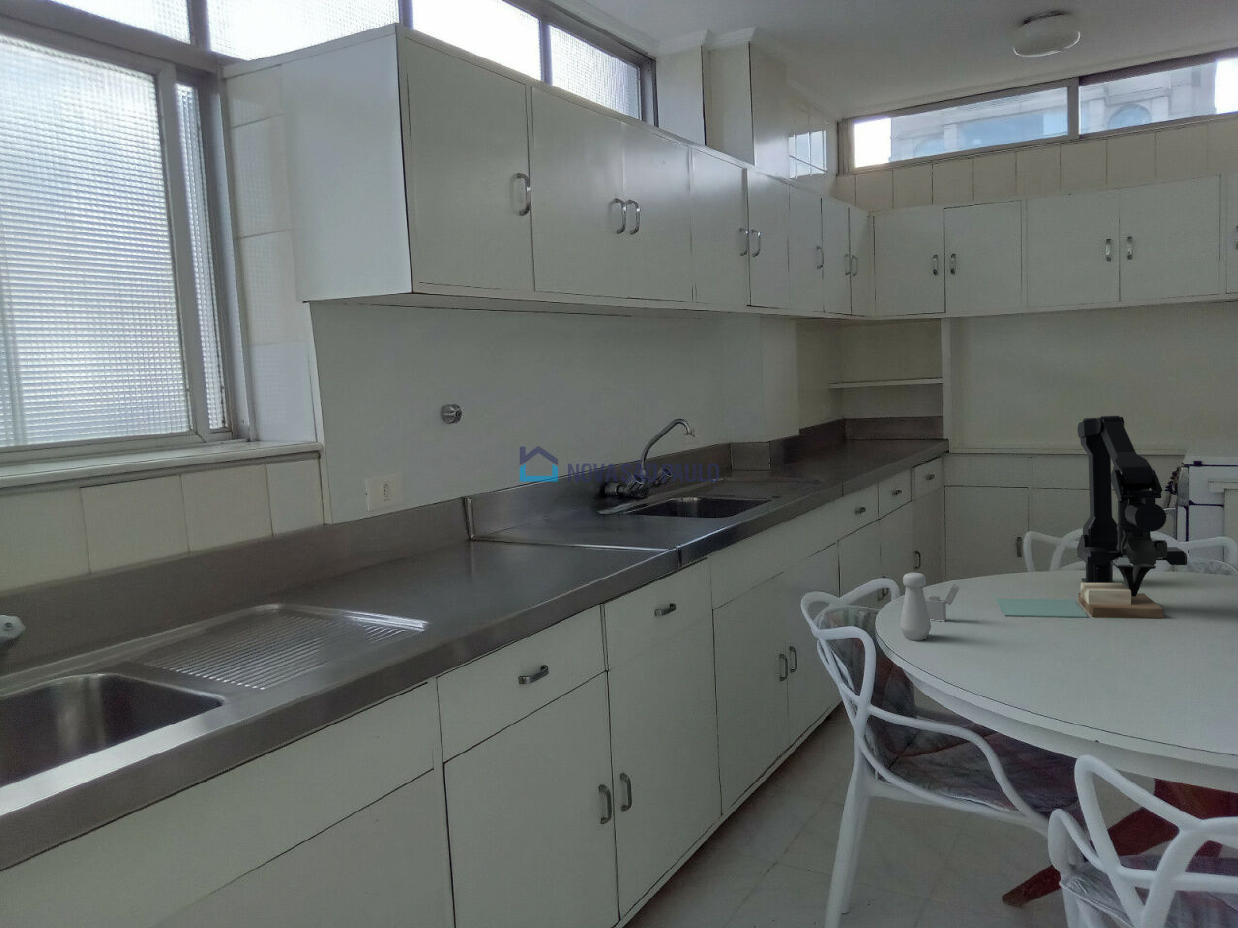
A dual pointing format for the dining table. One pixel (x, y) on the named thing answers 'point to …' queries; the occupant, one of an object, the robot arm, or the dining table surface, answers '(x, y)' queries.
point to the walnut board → (1125, 608)
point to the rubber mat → (1041, 608)
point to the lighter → (940, 604)
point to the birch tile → (1106, 593)
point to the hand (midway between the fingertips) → (1133, 595)
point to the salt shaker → (915, 608)
